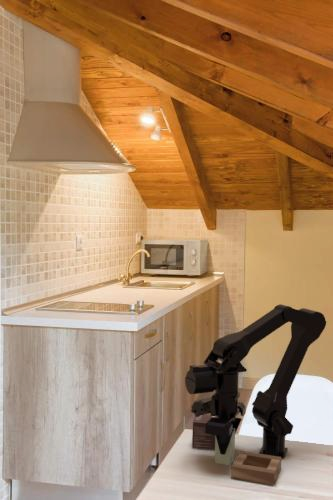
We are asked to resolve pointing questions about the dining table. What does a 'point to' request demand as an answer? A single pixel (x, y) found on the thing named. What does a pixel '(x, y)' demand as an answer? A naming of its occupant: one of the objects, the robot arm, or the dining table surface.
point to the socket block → (256, 468)
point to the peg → (229, 454)
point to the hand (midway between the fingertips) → (224, 451)
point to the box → (202, 434)
